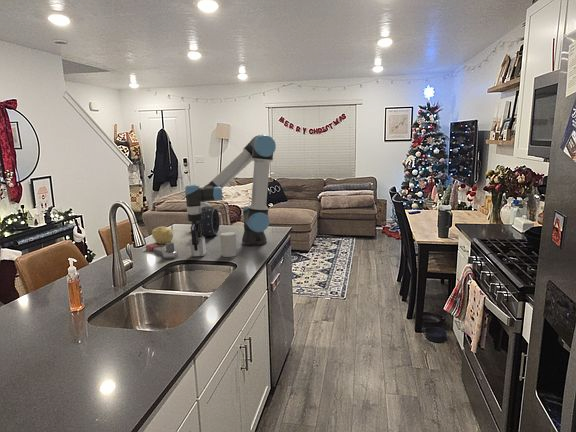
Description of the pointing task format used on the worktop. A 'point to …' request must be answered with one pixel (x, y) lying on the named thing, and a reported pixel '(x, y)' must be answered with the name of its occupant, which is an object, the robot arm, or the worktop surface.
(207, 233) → the ring
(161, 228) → the sculpture
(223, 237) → the cup
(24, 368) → the worktop surface
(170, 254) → the ratchet
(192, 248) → the frosted translucent cube
